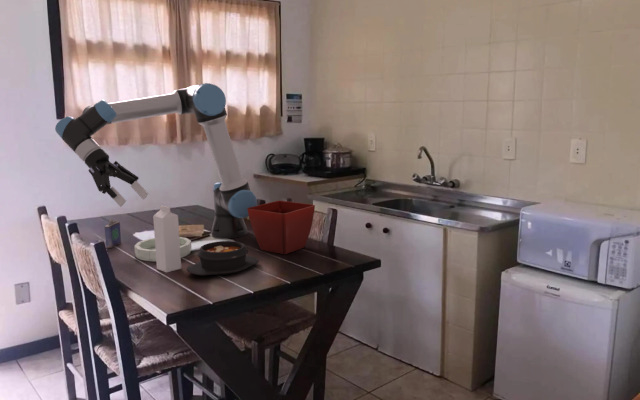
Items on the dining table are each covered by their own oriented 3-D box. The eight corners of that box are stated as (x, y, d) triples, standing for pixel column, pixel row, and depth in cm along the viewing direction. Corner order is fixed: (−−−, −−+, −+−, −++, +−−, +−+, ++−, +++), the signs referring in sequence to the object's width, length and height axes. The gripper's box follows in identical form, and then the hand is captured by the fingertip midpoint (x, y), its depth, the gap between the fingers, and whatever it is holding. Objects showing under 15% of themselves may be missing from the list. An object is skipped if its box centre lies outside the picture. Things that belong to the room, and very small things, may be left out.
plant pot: (247, 250, 203) (245, 207, 200) (280, 239, 218) (279, 199, 215) (284, 258, 192) (283, 213, 188) (316, 247, 206) (316, 205, 203)
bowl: (194, 245, 210) (194, 235, 210) (185, 260, 191) (185, 249, 190) (143, 247, 209) (143, 237, 208) (129, 262, 189) (128, 251, 189)
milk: (166, 272, 178) (161, 209, 173) (156, 269, 182) (151, 206, 177) (181, 268, 182) (177, 206, 178) (172, 264, 186) (167, 203, 182)
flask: (110, 248, 207) (108, 222, 205) (103, 248, 208) (101, 222, 206) (122, 242, 216) (120, 217, 214) (116, 242, 217) (113, 216, 215)
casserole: (201, 285, 165) (200, 259, 164) (178, 270, 180) (176, 247, 178) (269, 269, 180) (268, 245, 179) (242, 257, 195) (241, 235, 193)
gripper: (109, 159, 193) (148, 200, 192) (61, 167, 169) (106, 214, 169) (120, 144, 191) (160, 187, 190) (74, 150, 167) (119, 199, 166)
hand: (135, 200), depth 179 cm, fingers open, 13 cm apart
